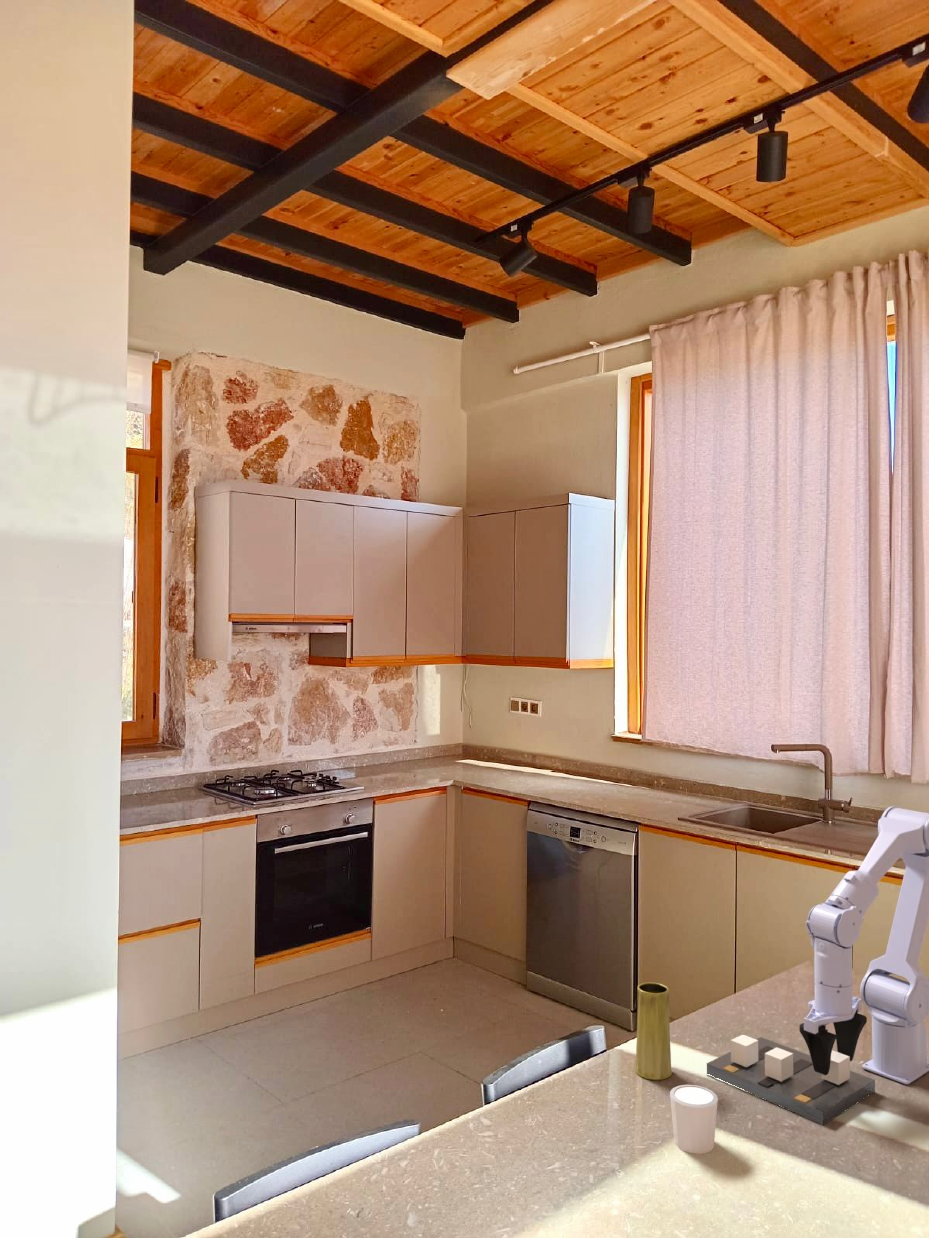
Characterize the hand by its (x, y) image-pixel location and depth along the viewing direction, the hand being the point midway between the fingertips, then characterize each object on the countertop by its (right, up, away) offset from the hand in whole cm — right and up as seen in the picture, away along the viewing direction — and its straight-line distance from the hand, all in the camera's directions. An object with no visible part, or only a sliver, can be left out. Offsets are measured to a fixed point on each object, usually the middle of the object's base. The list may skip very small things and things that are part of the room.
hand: (833, 1065), depth 153 cm
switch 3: (+1, -2, 0) cm, 2 cm away
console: (-6, -5, +3) cm, 8 cm away
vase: (-28, -5, +8) cm, 29 cm away
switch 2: (-8, -2, +2) cm, 9 cm away
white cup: (-26, -5, -15) cm, 30 cm away
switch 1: (-12, -2, +7) cm, 14 cm away
